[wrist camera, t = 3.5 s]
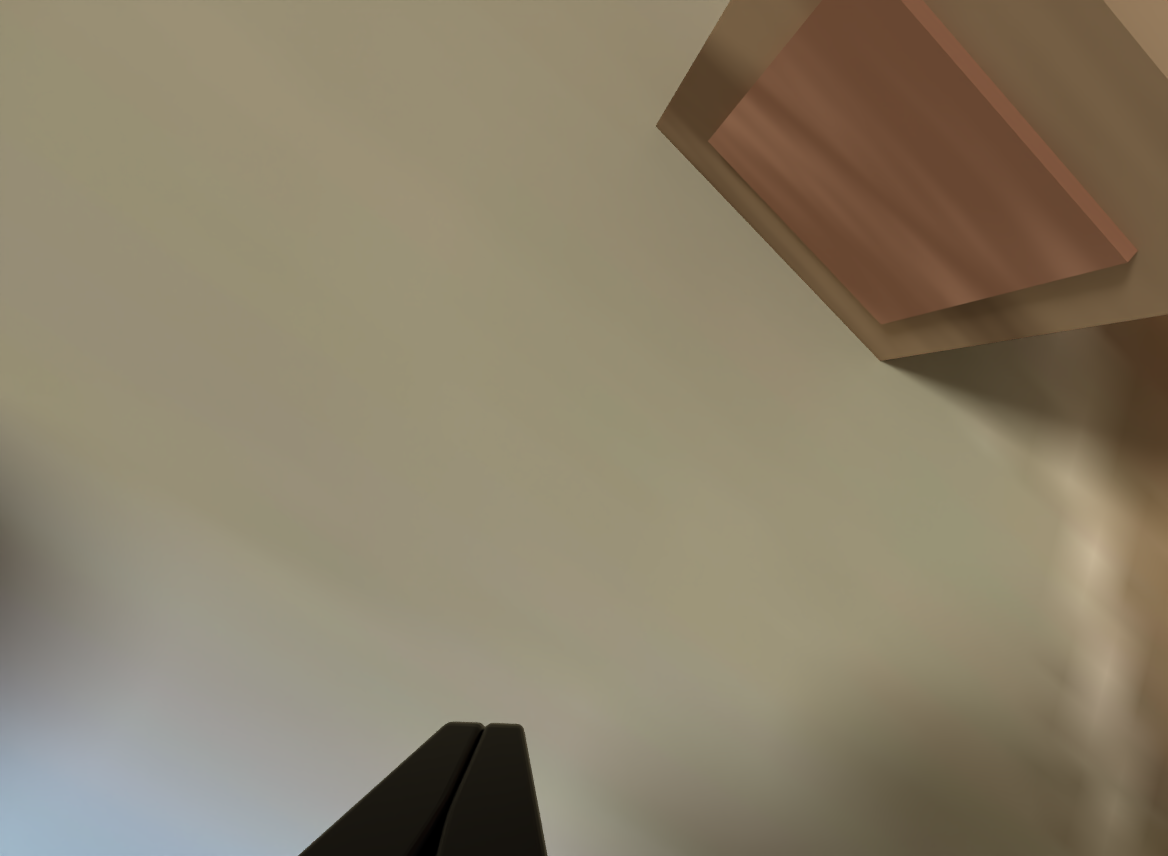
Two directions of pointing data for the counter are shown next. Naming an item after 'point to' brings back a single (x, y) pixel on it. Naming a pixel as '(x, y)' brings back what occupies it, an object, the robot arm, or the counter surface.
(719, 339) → the counter surface
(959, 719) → the counter surface
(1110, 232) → the wooden box
